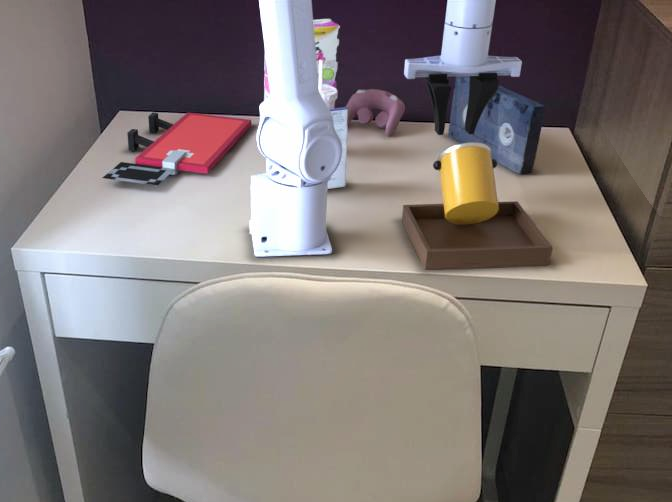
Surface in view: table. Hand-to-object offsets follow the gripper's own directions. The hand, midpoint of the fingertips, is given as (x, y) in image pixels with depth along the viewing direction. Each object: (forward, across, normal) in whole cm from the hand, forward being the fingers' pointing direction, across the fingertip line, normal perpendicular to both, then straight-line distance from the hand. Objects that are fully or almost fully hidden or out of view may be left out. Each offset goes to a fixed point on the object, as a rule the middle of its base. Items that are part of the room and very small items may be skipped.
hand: (454, 132), depth 110 cm
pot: (+4, 0, +9) cm, 9 cm away
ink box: (+10, +19, -4) cm, 22 cm away
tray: (+9, 0, +13) cm, 16 cm away
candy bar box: (+10, +17, -30) cm, 36 cm away
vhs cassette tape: (+10, -11, -16) cm, 22 cm away
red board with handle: (+10, +37, -20) cm, 43 cm away
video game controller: (+10, +5, -29) cm, 31 cm away
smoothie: (+10, +16, -18) cm, 26 cm away
